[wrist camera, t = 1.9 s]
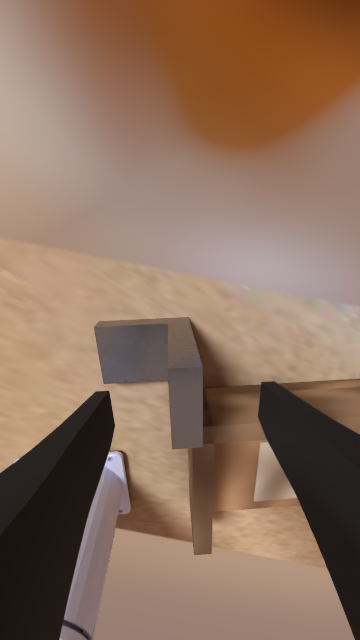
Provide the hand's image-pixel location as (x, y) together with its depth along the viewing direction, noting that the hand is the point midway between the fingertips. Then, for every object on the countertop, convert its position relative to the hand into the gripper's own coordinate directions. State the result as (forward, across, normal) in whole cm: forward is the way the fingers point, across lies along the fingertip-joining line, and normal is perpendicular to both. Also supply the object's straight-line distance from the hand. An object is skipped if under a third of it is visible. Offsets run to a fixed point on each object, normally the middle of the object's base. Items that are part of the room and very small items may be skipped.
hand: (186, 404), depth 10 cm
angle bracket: (+7, +3, 0) cm, 7 cm away
